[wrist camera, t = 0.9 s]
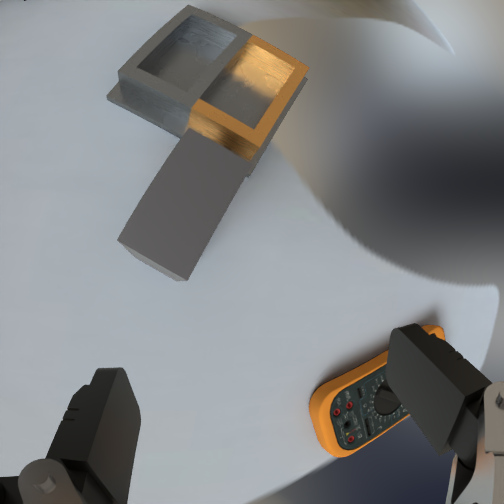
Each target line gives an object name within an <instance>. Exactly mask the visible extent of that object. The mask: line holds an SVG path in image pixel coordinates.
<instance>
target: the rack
mask: <svg viewBox="0 0 504 504" xmlns="http://www.w3.org/2000/svg"><path fill="white" fill-rule="evenodd" d="M308 69H309V67H308V66H306V65H304V64H303V63H301V62H300V61H298V60H296V59H295V58H293V57H291V56H290V55H288V54H286V53H284V52H283V51H281V50H280V49H278V48H276V47H274V46H272V45H271V44H269V43H267V42H265V41H263V40H261V39H260V38H258V37H256V36H254V35H252V34H250V33H248V32H247V31H245V30H243V29H241V28H239V27H237V26H235V25H233V24H231V23H229V22H226V21H224V20H222V19H220V18H218V17H216V16H214V15H211V14H209V13H207V12H205V11H202V10H200V9H198V8H195V7H193V6H190V5H187V6H186V7H185V8H184V9H183V10H181V11H180V12H179V13H178V14H177V15H175V16H174V17H173V18H172V19H171V20H170V21H169V22H167V23H166V24H165V25H164V26H163V27H162V28H161V29H160V30H159V31H157V32H156V33H155V34H154V35H153V36H152V37H151V38H150V39H149V40H148V41H147V42H146V43H145V44H144V45H143V46H142V47H141V48H140V49H139V50H138V51H137V52H136V53H135V54H134V55H133V56H132V57H131V58H130V59H129V60H128V61H127V62H126V63H125V64H124V65H123V66H122V67H121V68H120V69H119V70H118V77H119V82H118V83H117V84H116V85H115V86H114V88H113V89H112V90H111V91H110V92H109V94H108V95H107V100H108V101H110V102H112V103H114V104H116V105H118V106H120V107H122V108H124V109H126V110H128V111H130V112H132V113H134V114H136V115H138V116H140V117H142V118H143V119H145V120H147V121H149V122H151V123H153V124H155V125H157V126H158V127H160V128H162V129H164V130H166V131H168V132H169V133H171V134H173V135H175V136H177V137H179V138H180V139H181V138H182V137H183V135H184V134H185V132H186V131H187V129H188V128H191V129H193V130H194V131H196V132H198V133H200V134H202V135H203V136H205V137H207V138H209V139H210V140H212V141H214V142H216V143H217V144H219V145H221V146H223V147H224V148H226V149H228V150H229V151H231V152H233V153H235V154H236V155H238V156H240V157H241V158H243V159H245V160H246V161H248V162H250V163H251V164H253V165H252V166H251V168H250V170H249V171H248V173H247V175H246V177H249V176H250V175H251V173H252V171H253V170H254V168H255V166H256V165H257V163H258V161H259V159H260V158H261V156H262V154H263V153H264V151H265V149H266V147H267V146H268V144H269V142H270V141H271V139H272V137H273V136H274V134H275V132H276V131H277V129H278V127H279V126H280V124H281V122H282V120H283V119H284V117H285V116H286V114H287V112H288V111H289V109H290V107H291V106H292V104H293V102H294V101H295V99H296V97H297V96H298V94H299V93H300V91H301V89H302V88H303V86H304V85H305V83H306V81H307V78H305V77H304V76H305V74H306V72H307V71H308Z"/></svg>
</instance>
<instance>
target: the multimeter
mask: <svg viewBox="0 0 504 504" xmlns="http://www.w3.org/2000/svg"><path fill="white" fill-rule="evenodd" d="M421 328H423V329H424V330H425V331H426V332H427V333H428V334H429V335H431V334H432V335H434V336H436V337H438V338H440V339H443V340H445V335H444V331H443V328H442V327H441V326H435V325H425V326H422V327H421ZM388 350H389V349H388ZM388 350H387V351H385V352H383V353H382V354H380V355H378V356H377V357H375V358H373V359H372V360H370V361H368V362H366V363H364V364H363V365H361V366H359V367H357V368H355V369H353V370H351V371H349V372H347V373H345V374H343V375H341V376H339V377H337V378H335V379H333V380H331V381H329V382H327V383H325V384H323V385H322V386H320V387H319V388H318V389H317V390H316V391H315V392H314V394H313V396H312V398H311V400H310V404H309V412H310V416H311V419H312V423H313V426H314V429H315V432H316V435H317V438H318V441H319V442H320V444H321V446H322V447H323V448H324V449H325V450H326V451H327V452H329V453H330V454H331V455H333V456H335V457H345V456H348V455H350V454H352V453H354V452H356V451H357V450H359V449H360V448H362V447H363V446H365V445H367V444H368V443H370V442H371V441H373V440H374V439H376V438H377V437H379V436H380V435H381V434H383V433H384V432H386V431H387V430H389V429H390V428H392V427H393V426H394V425H396V424H397V423H399V422H400V421H402V420H403V419H404V418H406V417H407V416H409V415H410V414H409V413H408V411H407V410H406V409H405V407H404V406H403V404H402V403H401V402H400V400H399V399H398V398H397V396H396V395H395V393H394V392H393V391H392V389H391V388H390V386H389V385H388V382H387V379H386V363H387V357H388Z"/></svg>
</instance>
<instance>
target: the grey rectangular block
mask: <svg viewBox="0 0 504 504" xmlns="http://www.w3.org/2000/svg"><path fill="white" fill-rule="evenodd" d="M252 165H253V164H251V163H250V162H248V161H246V160H245V159H243V158H241V157H240V156H238V155H236V154H235V153H233V152H231V151H229V150H228V149H226V148H224V147H223V146H221V145H219V144H217V143H216V142H214V141H212V140H210V139H209V138H207V137H205V136H203V135H202V134H200V133H198V132H196V131H194V130H193V129H191V128H188V129H187V131H186V132H185V134H184V135H183V137H182V138H181V139H180V141H179V142H178V144H177V145H176V147H175V148H174V149H173V151H172V152H171V154H170V155H169V157H168V158H167V160H166V161H165V163H164V164H163V166H162V167H161V169H160V170H159V172H158V173H157V175H156V176H155V178H154V180H153V181H152V183H151V184H150V186H149V187H148V189H147V191H146V192H145V194H144V195H143V197H142V199H141V200H140V202H139V204H138V205H137V207H136V208H135V210H134V212H133V213H132V215H131V217H130V219H129V220H128V222H127V224H126V225H125V227H124V229H123V231H122V232H121V234H120V236H119V238H118V239H117V241H118V242H119V243H121V244H122V245H123V246H124V247H125V248H126V249H127V250H128V251H129V252H130V253H131V254H132V255H133V256H134V257H135V258H137V259H138V260H140V261H142V262H144V263H145V264H147V265H149V266H151V267H152V268H154V269H156V270H158V271H159V272H161V273H163V274H165V275H166V276H168V277H170V278H172V279H174V280H175V281H188V279H189V277H190V275H191V273H192V271H193V270H194V268H195V266H196V264H197V262H198V260H199V258H200V257H201V255H202V253H203V251H204V249H205V247H206V246H207V244H208V242H209V240H210V238H211V237H212V235H213V233H214V231H215V229H216V228H217V226H218V224H219V222H220V220H221V219H222V217H223V215H224V213H225V212H226V210H227V208H228V206H229V204H230V203H231V201H232V199H233V197H234V196H235V194H236V192H237V190H238V189H239V187H240V185H241V184H242V182H243V180H244V178H245V177H246V175H247V173H248V171H249V170H250V168H251V166H252Z"/></svg>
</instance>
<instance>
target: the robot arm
mask: <svg viewBox="0 0 504 504" xmlns="http://www.w3.org/2000/svg"><path fill="white" fill-rule="evenodd" d="M386 379H387V382H388V385H389V386H390V388H391V389H392V391H393V392H394V393H395V395H396V396H397V398H398V399H399V400H400V402H401V403H402V404H403V406H404V407H405V409H406V410H407V411H408V413H409V414H410V415H411V417H412V418H413V420H414V421H415V422H416V424H417V425H418V427H419V428H420V429H421V431H422V432H423V434H424V435H425V436H426V438H427V439H428V440H429V442H430V443H431V445H432V446H433V447H434V449H435V451H436V452H437V453H438V455H439V456H440V455H442V454H444V453H446V452H448V451H450V450H452V449H453V450H454V452H455V453H456V454H455V456H454V459H453V463H452V470H451V476H450V483H449V489H448V494H447V499H446V504H504V382H503V381H500V382H495V383H492V382H491V381H489V380H488V379H487V378H486V377H485V376H484V375H483V374H482V373H481V372H480V371H479V370H478V369H476V368H475V367H474V366H473V365H472V364H471V363H470V362H469V361H468V360H467V359H463V356H462V355H461V354H460V353H459V352H458V351H455V349H454V348H453V347H452V346H451V345H450V344H448V343H447V342H446V341H445V340H443V339H440V338H438V337H436V336H434V335H432V334H431V335H429V334H428V333H427V332H426V331H425V330H424V329H423V328H421V327H420V326H419V325H418V324H415V323H414V324H410V325H407V326H403V327H399V328H395V329H393V330H392V332H391V336H390V343H389V350H388V357H387V363H386ZM67 409H68V411H66V412H65V414H64V416H63V421H61V423H60V425H59V427H58V430H57V432H56V434H55V437H54V439H53V441H52V444H51V446H50V448H49V451H48V453H47V456H46V458H45V459H38V460H35V461H33V462H31V463H29V464H28V465H27V466H26V467H24V469H23V470H22V471H21V473H20V475H19V476H12V477H0V504H127V500H128V494H129V487H130V481H131V475H132V469H133V463H134V457H135V452H136V446H137V441H138V436H139V431H140V425H141V415H140V409H139V406H138V403H137V401H136V398H135V396H134V393H133V390H132V388H131V385H130V382H129V380H128V377H127V374H126V372H125V370H124V369H123V368H98V369H97V370H96V372H95V374H94V376H93V379H92V381H91V383H90V385H84V386H83V387H81V388H80V389H79V390H78V391H77V392H76V393H75V394H74V395H73V397H72V399H71V401H70V403H69V405H68V408H67Z"/></svg>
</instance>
